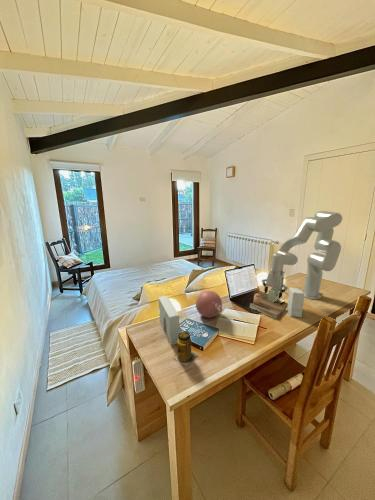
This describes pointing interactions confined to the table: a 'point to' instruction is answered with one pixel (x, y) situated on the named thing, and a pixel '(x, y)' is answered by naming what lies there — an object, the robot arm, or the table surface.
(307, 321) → the table surface
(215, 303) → the pink ball
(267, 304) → the shelf
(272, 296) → the carton
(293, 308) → the skincare box
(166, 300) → the skincare box
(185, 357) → the condiment
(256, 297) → the jar
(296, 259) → the robot arm
